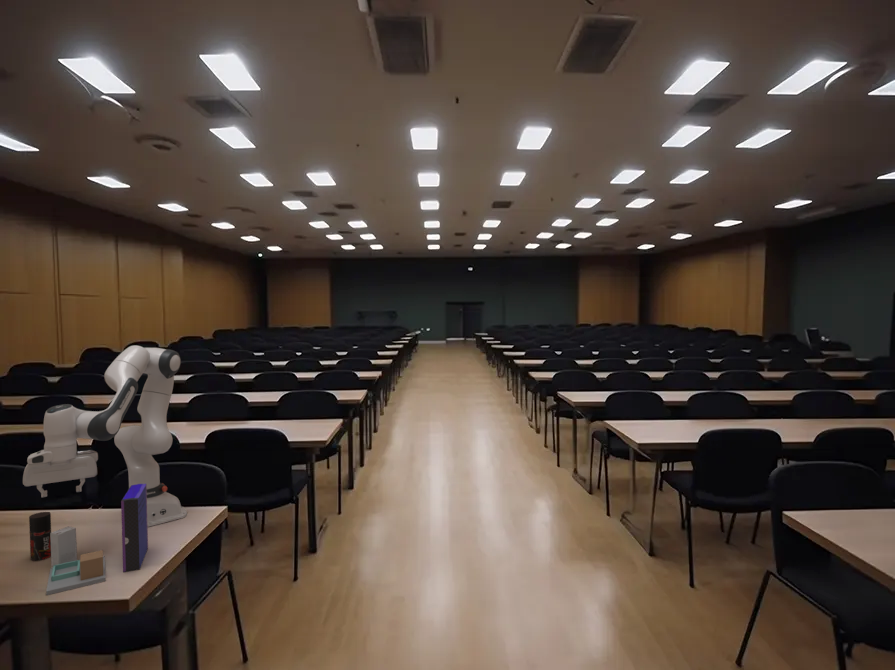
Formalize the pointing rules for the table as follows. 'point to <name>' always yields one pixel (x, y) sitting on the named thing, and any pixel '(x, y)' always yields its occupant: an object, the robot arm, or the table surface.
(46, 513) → the deodorant
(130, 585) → the table surface
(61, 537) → the skincare box
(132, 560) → the cereal box
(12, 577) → the table surface
